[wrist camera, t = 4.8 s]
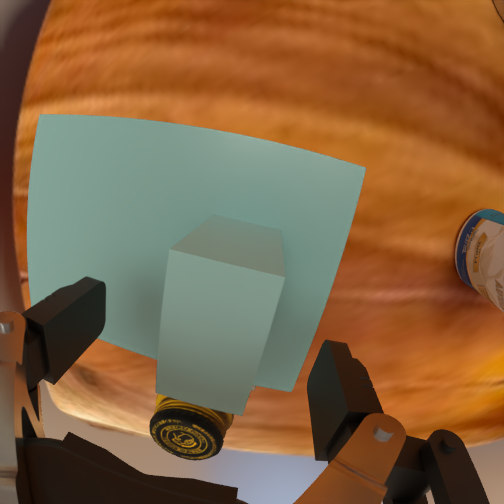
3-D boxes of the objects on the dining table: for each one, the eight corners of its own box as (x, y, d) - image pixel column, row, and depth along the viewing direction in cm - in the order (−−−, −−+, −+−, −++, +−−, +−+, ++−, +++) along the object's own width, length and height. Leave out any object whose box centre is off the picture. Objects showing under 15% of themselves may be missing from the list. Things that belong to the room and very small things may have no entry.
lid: (361, 167, 15) (432, 169, 7) (290, 382, 19) (294, 477, 11) (48, 115, 15) (-39, 107, 8) (38, 303, 19) (-26, 350, 12)
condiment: (186, 311, 27) (137, 395, 16) (273, 334, 27) (271, 431, 16) (177, 368, 29) (138, 453, 18) (254, 388, 29) (244, 481, 18)
